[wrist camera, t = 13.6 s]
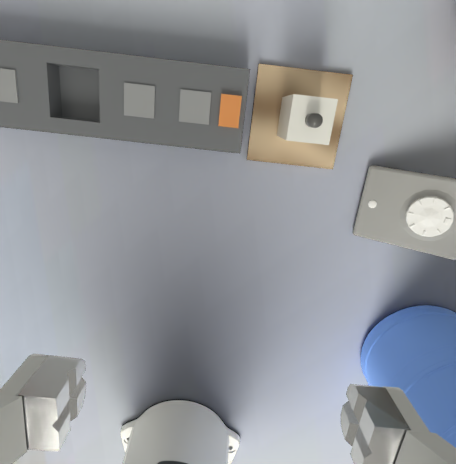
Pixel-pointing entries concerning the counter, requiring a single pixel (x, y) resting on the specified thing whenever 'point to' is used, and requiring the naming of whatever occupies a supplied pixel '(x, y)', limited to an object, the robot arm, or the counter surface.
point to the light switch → (409, 210)
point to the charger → (306, 119)
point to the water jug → (417, 363)
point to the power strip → (122, 96)
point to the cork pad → (268, 111)
